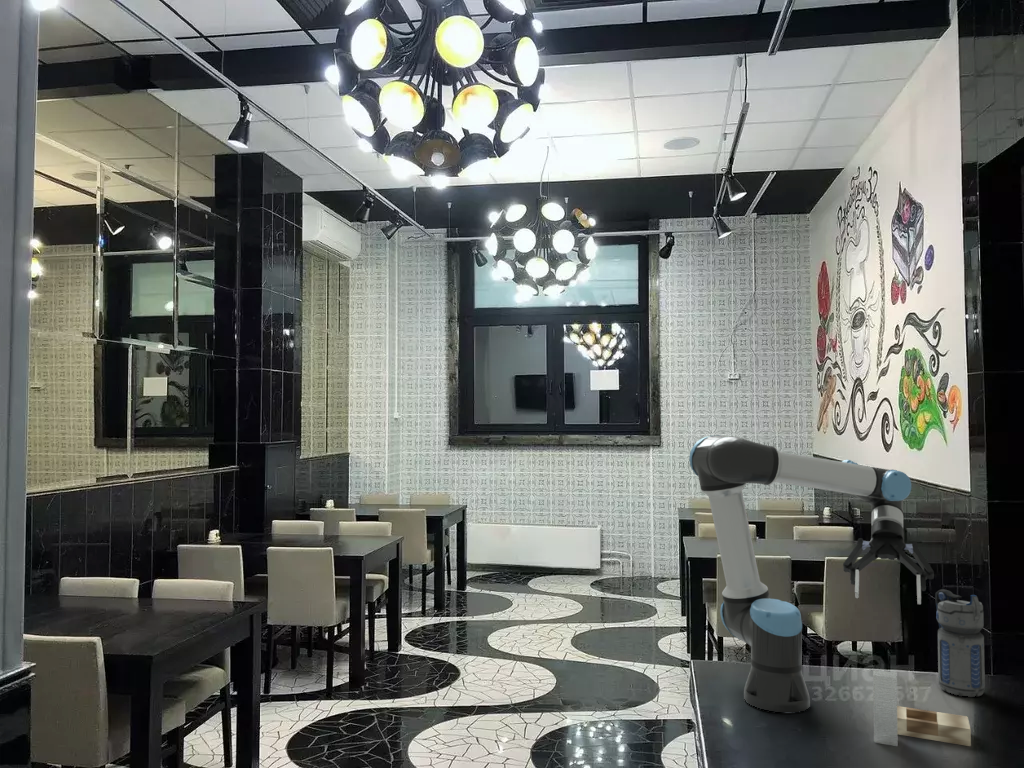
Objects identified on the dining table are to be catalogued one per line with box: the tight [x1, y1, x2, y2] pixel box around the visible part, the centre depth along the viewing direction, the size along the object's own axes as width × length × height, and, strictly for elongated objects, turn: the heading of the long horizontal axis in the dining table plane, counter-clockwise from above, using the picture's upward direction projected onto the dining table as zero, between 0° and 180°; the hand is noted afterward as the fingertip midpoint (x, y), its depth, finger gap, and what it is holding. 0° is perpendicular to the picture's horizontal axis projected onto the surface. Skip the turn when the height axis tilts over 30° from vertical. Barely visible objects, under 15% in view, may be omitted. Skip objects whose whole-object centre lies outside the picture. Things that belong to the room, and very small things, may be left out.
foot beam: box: [897, 705, 972, 747], centre depth 172 cm, size 18×8×4 cm, turn 64°
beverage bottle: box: [934, 588, 986, 698], centre depth 199 cm, size 10×13×25 cm
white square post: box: [872, 669, 899, 747], centre depth 168 cm, size 4×4×14 cm
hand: (887, 598), depth 190 cm, fingers open, 13 cm apart
